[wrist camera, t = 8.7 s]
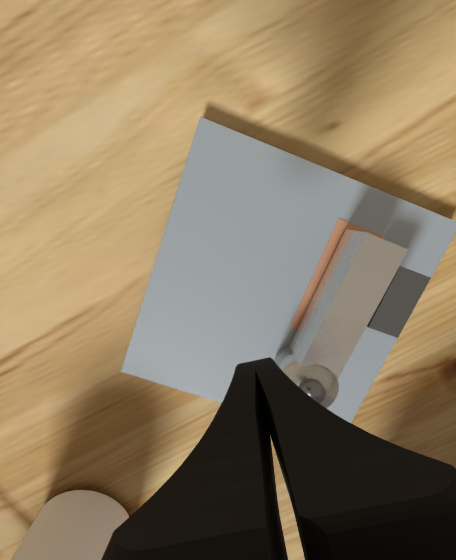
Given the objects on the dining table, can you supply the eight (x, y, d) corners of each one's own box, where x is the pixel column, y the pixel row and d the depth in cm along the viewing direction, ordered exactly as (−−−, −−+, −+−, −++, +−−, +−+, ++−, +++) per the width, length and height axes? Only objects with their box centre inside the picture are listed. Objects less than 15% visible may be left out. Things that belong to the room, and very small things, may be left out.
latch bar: (310, 393, 21) (326, 426, 18) (266, 378, 21) (274, 409, 18) (387, 246, 18) (422, 254, 15) (338, 226, 18) (363, 229, 15)
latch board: (448, 222, 19) (505, 225, 16) (336, 430, 23) (359, 474, 20) (201, 121, 18) (195, 97, 14) (125, 364, 22) (104, 398, 18)
